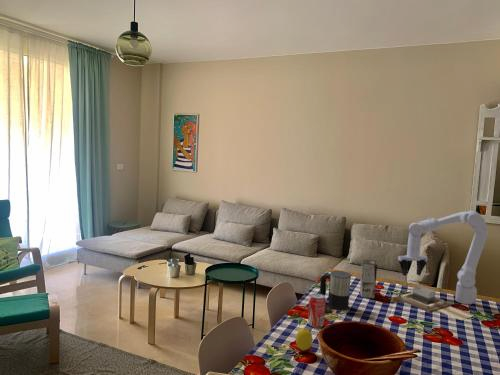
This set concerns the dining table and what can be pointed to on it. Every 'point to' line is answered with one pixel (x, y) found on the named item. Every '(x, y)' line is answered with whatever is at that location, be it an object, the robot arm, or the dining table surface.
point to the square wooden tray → (427, 307)
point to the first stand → (455, 313)
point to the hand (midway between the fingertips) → (411, 275)
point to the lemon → (304, 339)
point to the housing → (423, 295)
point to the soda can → (316, 310)
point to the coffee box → (368, 278)
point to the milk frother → (336, 290)
